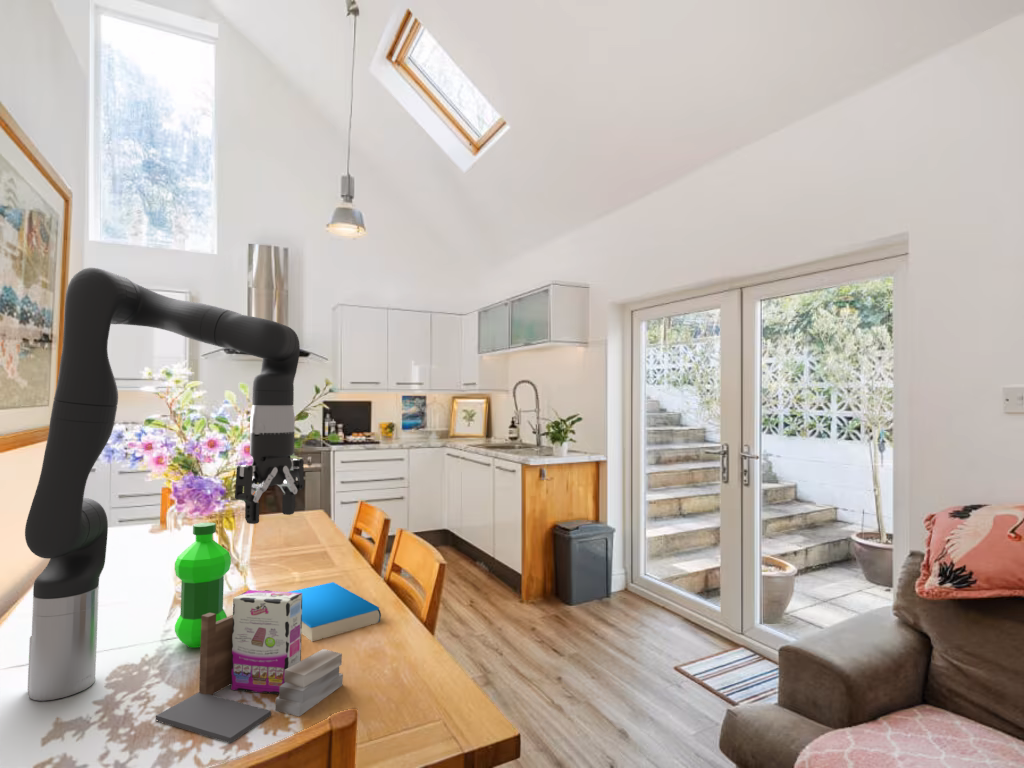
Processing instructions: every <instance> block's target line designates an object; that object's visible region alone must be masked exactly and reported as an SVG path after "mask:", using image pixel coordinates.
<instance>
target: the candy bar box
mask: <svg viewBox="0 0 1024 768" xmlns="http://www.w3.org/2000/svg"><path fill="white" fill-rule="evenodd" d="M232 605H233V606H232V615H233V633H232V668H231V684H230V689H231V691H238V692H239V691H240V692H249V693H259V694H261V693H262V694H272V695H279V688H280V686H281V685H282V684H284V683H285V682H284V676H285V669H287V668H289V667H291V666H293V665H295V664H296V663H298V662H300V661H302V633H301V632H302V593H291V592H290V591H273V590H269V591H265V590H252V589H250V590H247V591H245V592H242V593H240V594H239V595H237V596H235V597H233V602H232Z"/></svg>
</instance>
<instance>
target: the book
mask: <svg viewBox="0 0 1024 768" xmlns="http://www.w3.org/2000/svg"><path fill="white" fill-rule="evenodd" d="M289 592H291V593H302V632H301V635H303V636H304V637H305V636H306V637H305V638H307V639H308V640H309V641H310V640H311V641H310V642H316V641H319V640H322V638H323V639H326V638H328V637H332V636H337V635H340V634H344V633H346V632H351V631H353V630H358V629H361V628H363V627H364V628H365V627H367V626H370V625H371V624H372V625H375V624H378V623H380V621H381V618H382V613H381V610H380V607H379V606H377V605H375V604H373V603H372V602H370V601H369V600H366V599H364V598H363V597H361V596H359V595H358V594H356V593H354V592H352V591H350V590H348V589H346V588H345V587H343V586H341V585H339V584H338V583H336V582H334V581H332V582H328V583H322V584H317V585H314V586H310V587H305V588H300V589H297V590H291V591H289Z"/></svg>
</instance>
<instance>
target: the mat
mask: <svg viewBox="0 0 1024 768" xmlns="http://www.w3.org/2000/svg"><path fill="white" fill-rule="evenodd" d="M271 716H272V710H270V709H266V708H263V707H259V706H256V705H251V704H248V703H245V702H244V703H243V702H239V701H237V700H236V701H235V700H233V699H228V698H224V697H221V696H217V695H215V694H214V695H210V694H202V693H199V691H198V692H197V693H195V694H193V695H190V696H189V697H188V698H185V699H184V700H181V701H180V702H179V703H176V704H175V705H173V706H171V707H169V708H167V709H166V710H164V711H161V712H159V713H158V714H156V715H155V721H156V720H158V721H157V722H159V721H160V722H159V723H162V722H163V723H162V724H165V723H166V725H168V724H169V726H172V727H175V728H178V729H182V730H186V731H187V732H188V731H189V732H192V733H196V734H199V735H203V736H205V737H209V738H211V739H216V740H219V741H222V742H225V743H228V744H231V743H233V742H234V741H235V740H237V739H239V738H240V737H242V736H243V735H245V734H246V733H247V732H249V731H251V730H252V729H253V728H255V727H256V726H258V725H260V724H261V723H263V722H264V721H265V720H267V719H268V718H270V717H271Z"/></svg>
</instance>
